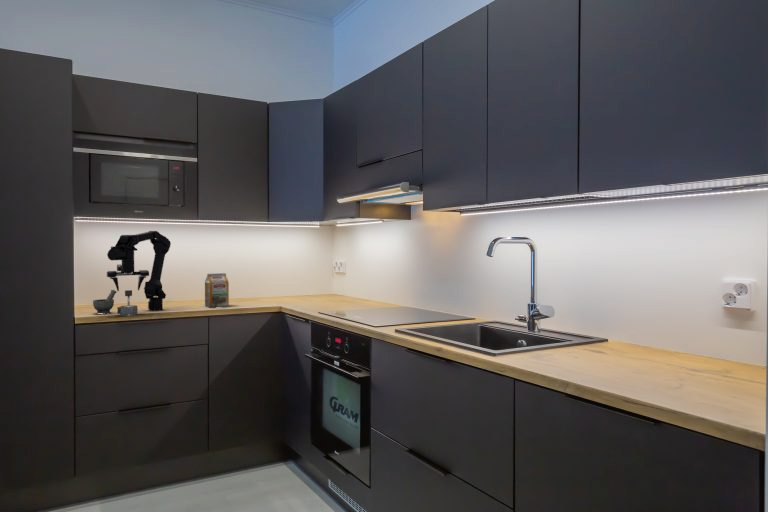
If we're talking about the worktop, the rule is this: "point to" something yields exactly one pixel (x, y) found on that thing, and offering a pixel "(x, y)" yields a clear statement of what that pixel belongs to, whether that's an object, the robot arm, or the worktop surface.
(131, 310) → the blue-grey block
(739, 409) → the worktop surface
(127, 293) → the plunger
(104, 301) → the mortar and pestle
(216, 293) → the printed carton
